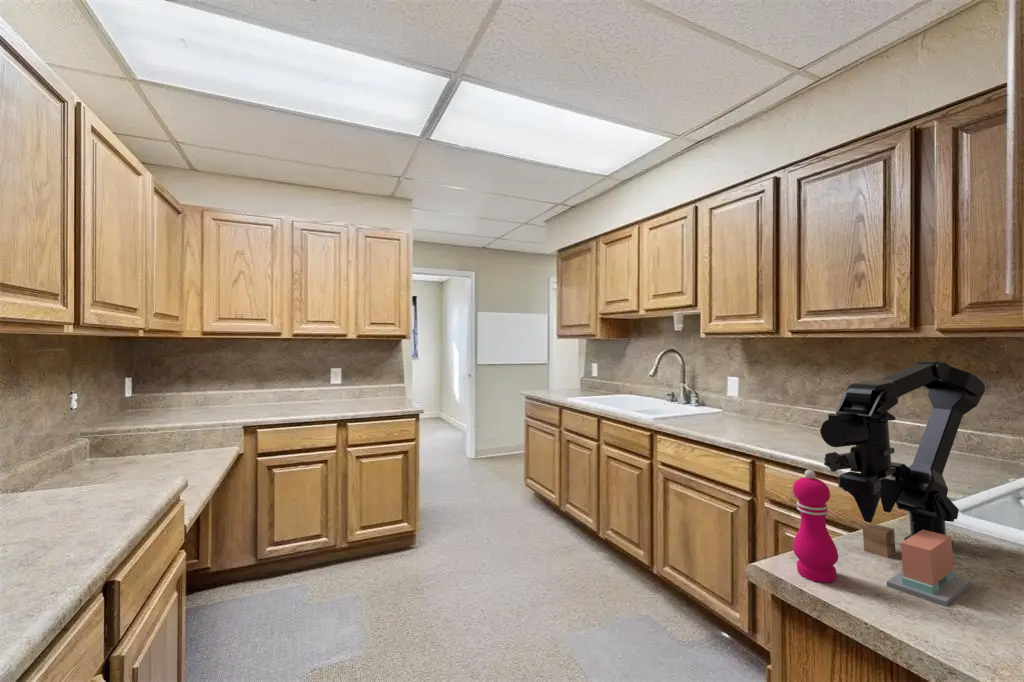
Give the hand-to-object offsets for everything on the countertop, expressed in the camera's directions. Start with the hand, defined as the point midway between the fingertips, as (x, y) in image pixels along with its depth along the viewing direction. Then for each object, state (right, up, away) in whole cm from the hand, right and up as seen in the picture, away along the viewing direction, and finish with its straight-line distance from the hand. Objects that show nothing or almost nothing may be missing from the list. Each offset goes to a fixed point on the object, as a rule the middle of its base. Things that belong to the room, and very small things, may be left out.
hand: (877, 516), depth 94 cm
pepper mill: (-19, -8, -8) cm, 22 cm away
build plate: (-2, -7, -14) cm, 16 cm away
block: (0, -7, 0) cm, 7 cm away
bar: (-2, -5, -13) cm, 14 cm away
